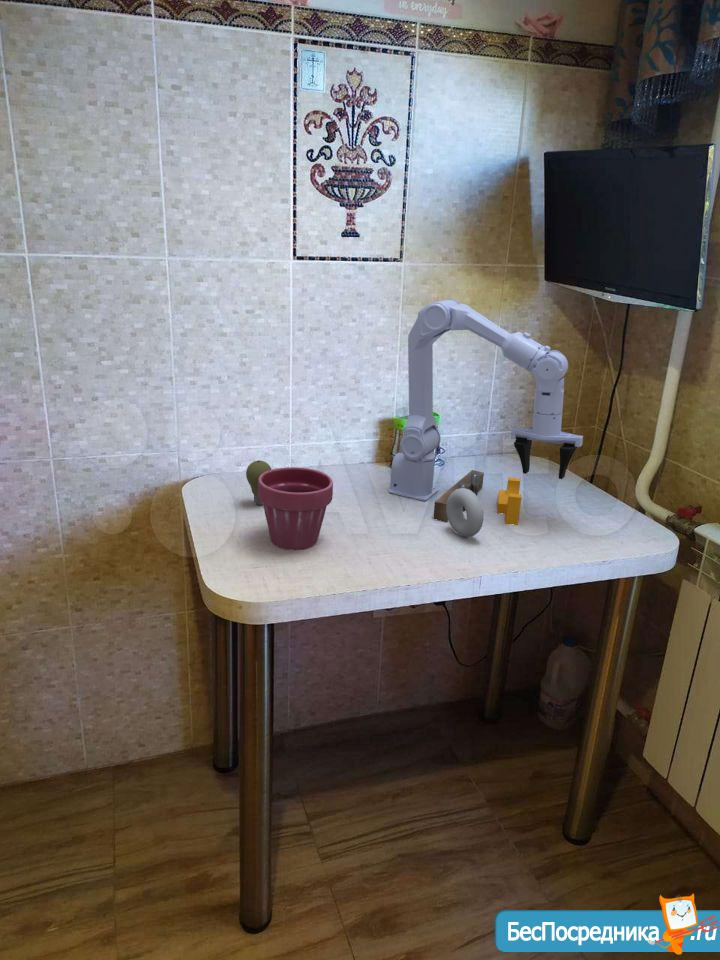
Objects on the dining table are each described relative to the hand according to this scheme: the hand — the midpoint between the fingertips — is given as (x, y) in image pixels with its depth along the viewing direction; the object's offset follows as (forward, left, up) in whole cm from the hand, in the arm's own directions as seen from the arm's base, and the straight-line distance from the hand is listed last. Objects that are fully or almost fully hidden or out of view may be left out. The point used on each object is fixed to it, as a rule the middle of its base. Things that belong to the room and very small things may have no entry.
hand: (543, 475), depth 150 cm
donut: (-11, -16, -11) cm, 23 cm away
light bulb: (-54, -26, -11) cm, 61 cm away
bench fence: (-18, 0, -10) cm, 21 cm away
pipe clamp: (-7, 0, -11) cm, 13 cm away
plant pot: (-38, -37, -11) cm, 54 cm away
